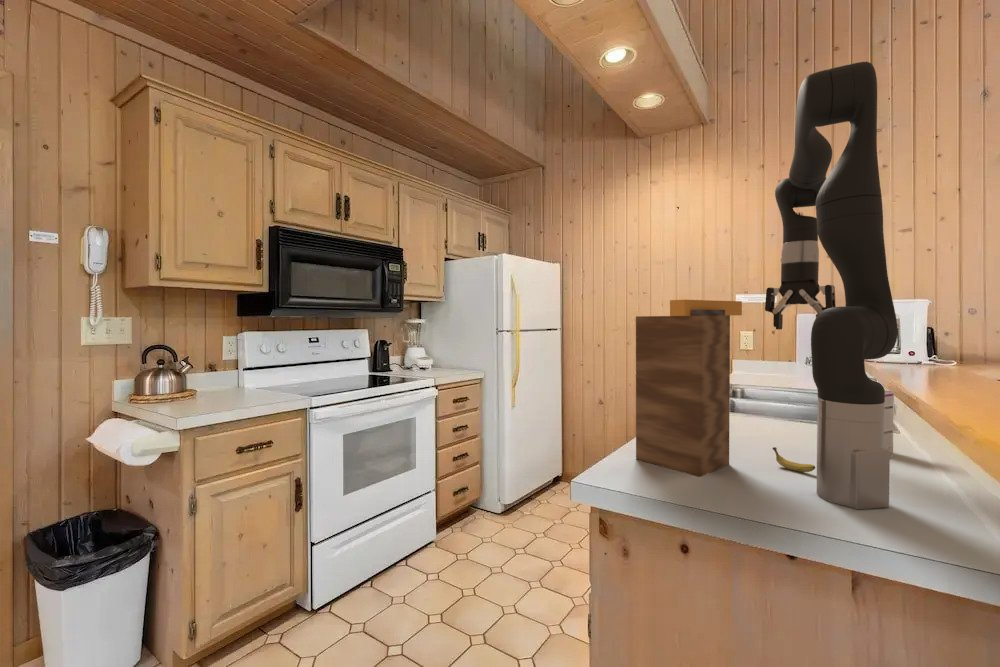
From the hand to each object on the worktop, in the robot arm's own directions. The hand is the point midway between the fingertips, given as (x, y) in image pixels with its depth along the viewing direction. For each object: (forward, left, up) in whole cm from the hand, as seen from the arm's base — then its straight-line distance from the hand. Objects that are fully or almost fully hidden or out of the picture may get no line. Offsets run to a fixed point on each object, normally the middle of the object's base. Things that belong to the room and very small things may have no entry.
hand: (798, 329), depth 112 cm
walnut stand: (-6, +33, -28) cm, 44 cm away
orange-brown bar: (-7, +28, +4) cm, 29 cm away
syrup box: (-6, -14, -29) cm, 33 cm away
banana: (-15, +14, -29) cm, 35 cm away
